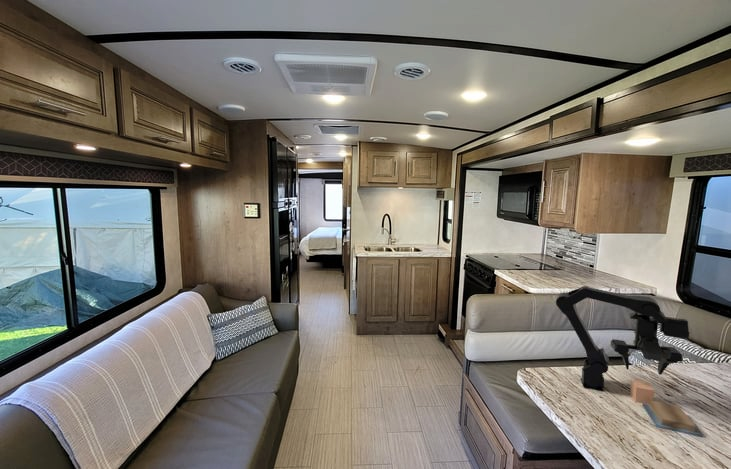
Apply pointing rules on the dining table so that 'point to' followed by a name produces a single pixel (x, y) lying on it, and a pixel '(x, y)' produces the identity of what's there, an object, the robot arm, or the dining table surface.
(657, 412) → the foundation block
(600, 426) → the dining table surface
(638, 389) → the terracotta cube
